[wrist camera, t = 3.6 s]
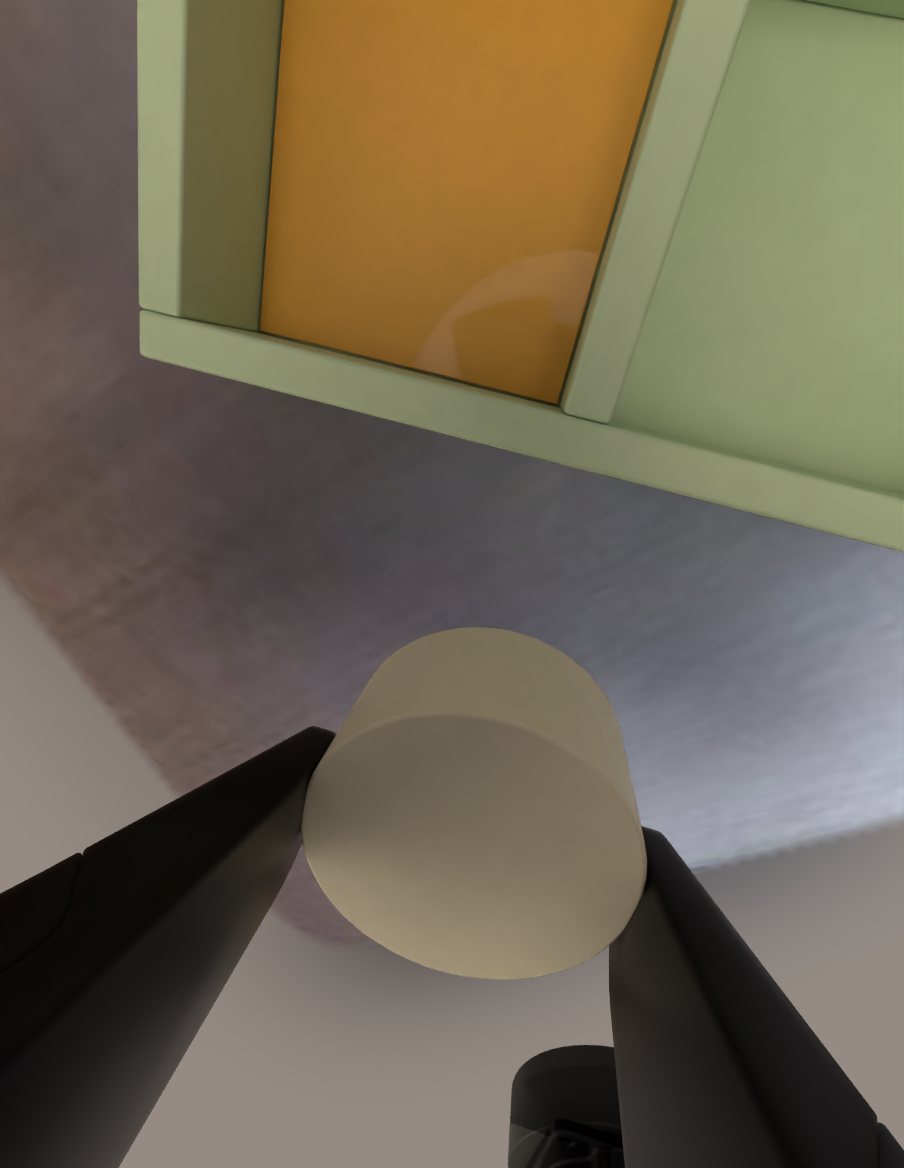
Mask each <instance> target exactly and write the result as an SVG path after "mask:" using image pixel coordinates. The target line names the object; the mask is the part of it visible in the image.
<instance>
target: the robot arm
mask: <svg viewBox="0 0 904 1168" xmlns="http://www.w3.org/2000/svg"><path fill="white" fill-rule="evenodd" d="M335 736H336V734H335V733H334V732H332V731H329V730H326V729H322V728H319V727H316V726H312V727H308V728H307V729H305V730H303V731H301V732H299V733H297V734H295V735H294V736H292V737H290V738H288V739H286V740H284V741H283V742H281V743H279V744H277V745H275V746H273V747H272V748H270V749H268V750H266V751H264V752H262V753H260V754H259V755H257V756H255V757H253V758H251V759H249V760H248V761H246V762H244V763H242V764H240V765H238V766H237V767H235V768H233V769H231V770H229V771H227V772H226V773H224V774H222V775H220V776H218V777H216V778H214V779H213V780H211V781H209V782H207V783H205V784H203V785H202V786H200V787H198V788H196V789H194V790H192V791H191V792H189V793H187V794H185V795H183V796H181V797H180V798H178V799H176V800H174V801H172V802H170V803H169V804H167V805H165V806H163V807H161V808H159V809H157V810H156V811H154V812H152V813H150V814H148V815H146V816H145V817H143V818H141V819H139V820H137V821H135V822H133V823H132V824H130V825H128V826H126V827H124V828H122V829H121V830H119V831H117V832H115V833H113V834H112V835H110V836H108V837H106V838H104V839H102V840H100V841H99V842H97V843H95V844H93V845H91V846H90V847H87V848H86V849H85V850H84V852H83V856H82V854H81V853H76V854H74V855H72V856H71V857H69V858H67V859H65V860H63V861H61V862H59V863H58V864H56V865H54V866H52V867H50V868H48V869H46V870H45V871H43V872H41V873H39V874H37V875H35V876H33V877H31V878H29V879H28V880H25V881H24V882H22V883H20V884H18V885H16V886H14V887H12V888H10V889H8V890H6V891H4V892H2V893H1V894H0V1168H119V1166H120V1164H121V1163H122V1161H123V1159H124V1158H125V1156H126V1154H127V1152H128V1151H129V1149H130V1147H131V1145H132V1144H133V1142H134V1140H135V1138H136V1137H137V1135H138V1133H139V1132H140V1130H141V1128H142V1126H143V1125H144V1123H145V1121H146V1120H147V1118H148V1116H149V1115H150V1113H151V1111H152V1109H153V1108H154V1106H155V1104H156V1103H157V1101H158V1099H159V1097H160V1096H161V1094H162V1092H163V1090H164V1089H165V1087H166V1085H167V1083H168V1082H169V1080H170V1078H171V1077H172V1075H173V1073H174V1071H175V1070H176V1068H177V1066H178V1065H179V1063H180V1061H181V1060H182V1058H183V1056H184V1054H185V1053H186V1051H187V1049H188V1047H189V1046H190V1044H191V1042H192V1041H193V1039H194V1037H195V1036H196V1034H197V1032H198V1030H199V1028H200V1027H201V1025H202V1023H203V1022H204V1020H205V1018H206V1017H207V1015H208V1013H209V1011H210V1010H211V1008H212V1006H213V1004H214V1003H215V1001H216V999H217V998H218V996H219V994H220V992H221V991H222V989H223V987H224V986H225V984H226V982H227V981H228V979H229V977H230V975H231V974H232V972H233V970H234V968H235V967H236V965H237V963H238V962H239V959H240V958H241V956H242V955H243V953H244V951H245V950H246V948H247V946H248V944H249V943H250V941H251V939H252V937H253V936H254V934H255V932H256V931H257V929H258V927H259V925H260V924H261V922H262V920H263V919H264V917H265V915H266V913H267V912H268V910H269V908H270V907H271V905H272V903H273V901H274V900H275V898H276V896H277V894H278V892H279V891H280V889H281V887H282V885H283V883H284V881H285V879H286V877H287V875H288V873H289V871H290V869H291V867H292V864H293V862H294V860H295V858H296V855H297V853H298V851H299V849H300V846H301V844H302V833H301V823H302V816H303V809H304V803H305V797H306V791H307V787H308V784H309V781H310V779H311V776H312V774H313V772H314V771H315V769H316V767H317V766H318V764H319V762H320V761H321V759H322V758H323V756H324V754H325V753H326V751H327V749H328V748H329V746H330V744H331V743H332V741H333V739H334V738H335ZM641 828H642V833H643V837H644V842H645V849H646V856H647V878H646V883H645V887H644V891H643V894H642V897H641V899H640V901H639V903H638V905H637V907H636V908H635V910H634V912H633V914H632V916H631V918H630V920H629V922H628V923H627V925H626V927H625V929H624V930H623V932H622V933H621V934H620V935H619V936H618V938H617V939H616V940H615V941H614V942H613V943H611V944H610V945H609V992H610V1007H611V1019H612V1031H613V1041H614V1052H615V1063H616V1074H617V1085H618V1096H619V1106H620V1117H621V1128H622V1138H619V1137H616V1136H613V1135H610V1134H607V1133H605V1132H602V1131H599V1130H596V1129H593V1128H590V1127H587V1126H585V1125H582V1124H579V1123H576V1122H573V1121H570V1120H566V1119H557V1120H554V1121H553V1122H552V1124H551V1126H550V1127H549V1129H548V1131H547V1132H546V1134H545V1136H544V1138H543V1139H542V1141H541V1143H540V1144H539V1146H538V1148H537V1150H536V1151H535V1153H534V1155H533V1156H532V1158H531V1160H530V1162H529V1163H528V1165H527V1167H526V1168H904V1150H903V1149H902V1147H901V1146H900V1145H899V1144H898V1142H897V1141H896V1140H895V1138H894V1137H893V1136H892V1134H891V1133H890V1132H889V1130H888V1129H887V1128H886V1126H885V1125H883V1124H882V1123H879V1122H878V1123H877V1116H876V1114H875V1112H874V1111H873V1110H872V1108H871V1107H870V1106H869V1104H868V1103H867V1102H866V1101H865V1099H864V1098H863V1096H862V1095H861V1094H860V1093H859V1091H858V1090H857V1089H856V1087H855V1086H854V1085H853V1083H852V1082H851V1081H850V1080H849V1078H848V1077H847V1075H846V1074H845V1073H844V1071H843V1070H842V1069H841V1068H840V1066H839V1065H838V1064H837V1062H836V1061H835V1060H834V1058H833V1057H832V1056H831V1055H830V1053H829V1052H828V1050H827V1049H826V1048H825V1047H824V1045H823V1044H822V1043H821V1041H820V1040H819V1039H818V1037H817V1036H816V1035H815V1033H814V1032H813V1031H812V1029H811V1028H810V1027H809V1026H808V1024H807V1023H806V1022H805V1020H804V1019H803V1018H802V1016H801V1015H800V1014H799V1013H798V1011H797V1010H796V1008H795V1007H794V1006H793V1005H792V1003H791V1002H790V1001H789V999H788V998H787V997H786V995H785V994H784V993H783V991H782V990H781V989H780V987H779V986H778V985H777V983H776V982H775V981H774V980H773V978H772V977H771V976H770V974H769V973H768V972H767V970H766V969H765V968H764V966H763V965H762V964H761V962H760V961H759V960H758V958H757V957H756V956H755V954H754V953H753V952H752V951H751V949H750V948H749V947H748V945H747V944H746V943H745V941H744V940H743V939H742V937H741V936H740V935H739V933H738V932H737V931H736V929H735V928H734V927H733V926H732V924H731V923H730V922H729V920H728V919H727V918H726V916H725V915H724V914H723V912H722V911H721V910H720V908H719V907H718V906H717V904H716V903H715V902H714V901H713V900H712V898H711V897H710V895H709V894H708V893H707V891H706V890H705V889H704V887H703V886H702V885H701V884H700V882H699V881H698V880H697V878H696V877H695V876H694V874H693V873H692V872H691V870H690V869H689V868H688V866H687V865H686V864H685V862H684V861H683V860H682V858H681V857H680V856H679V855H678V853H677V852H676V851H675V849H674V848H673V847H672V845H671V844H670V843H669V841H668V840H667V839H666V837H665V836H664V835H663V834H662V833H660V832H658V831H656V830H653V829H650V828H646V827H643V826H641Z"/></svg>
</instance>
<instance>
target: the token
mask: <svg viewBox="0 0 904 1168" xmlns="http://www.w3.org/2000/svg"><path fill="white" fill-rule="evenodd" d="M301 833H302V842H303V846H304V850H305V854H306V858H307V860H308V863H309V865H310V868H311V870H312V873H313V875H314V876H315V878H316V880H317V882H318V883H319V885H320V887H321V889H322V890H323V891H324V893H325V894H326V895H327V897H328V898H329V900H330V901H331V902H332V904H333V905H334V906H335V907H336V908H337V909H338V910H339V911H340V912H341V913H342V914H343V916H344V917H345V918H347V919H348V920H349V921H350V922H351V923H352V924H353V925H354V926H356V927H357V928H358V929H359V930H360V931H362V932H363V933H364V934H366V935H367V936H368V937H370V938H371V939H373V940H374V941H375V942H377V943H379V944H380V945H382V946H384V947H385V948H387V949H389V950H390V951H392V952H394V953H396V954H398V955H401V956H403V957H405V958H407V959H409V960H411V961H414V962H416V963H419V964H421V965H424V966H427V967H429V968H433V969H436V970H440V971H444V972H446V973H451V974H456V975H461V976H466V977H473V978H482V979H501V980H511V979H525V978H533V977H538V976H544V975H549V974H552V973H556V972H559V971H563V970H566V969H569V968H571V967H573V966H576V965H578V964H581V963H583V962H585V961H586V960H588V959H590V958H592V957H593V956H595V955H597V954H599V953H600V952H601V951H603V950H604V949H605V948H606V947H608V946H609V945H610V944H611V943H613V942H614V941H615V940H616V939H617V938H618V936H619V935H620V934H621V933H622V932H623V930H624V929H625V927H626V925H627V923H628V922H629V920H630V918H631V916H632V914H633V912H634V910H635V908H636V907H637V905H638V903H639V901H640V899H641V897H642V894H643V891H644V887H645V883H646V878H647V856H646V849H645V842H644V837H643V833H642V828H641V823H640V819H639V814H638V809H637V805H636V800H635V796H634V791H633V786H632V782H631V777H630V772H629V768H628V763H627V759H626V754H625V749H624V745H623V740H622V735H621V731H620V727H619V724H618V721H617V718H616V714H615V712H614V710H613V708H612V706H611V704H610V702H609V700H608V698H607V697H606V695H605V694H604V692H603V691H602V689H601V688H600V686H599V685H598V684H597V683H596V681H595V680H594V679H593V678H592V677H591V676H590V675H589V674H588V673H587V672H586V671H585V670H584V669H583V668H582V667H581V666H580V665H578V664H577V663H576V662H575V661H574V660H572V659H571V658H570V657H568V656H567V655H565V654H563V653H562V652H560V651H559V650H557V649H556V648H554V647H552V646H550V645H548V644H546V643H544V642H542V641H540V640H537V639H535V638H532V637H529V636H526V635H523V634H520V633H516V632H511V631H507V630H502V629H494V628H484V627H471V628H458V629H451V630H444V631H441V632H437V633H433V634H430V635H427V636H424V637H422V638H420V639H417V640H415V641H412V642H411V643H409V644H407V645H406V646H404V647H402V648H401V649H399V650H397V651H396V652H395V653H394V654H392V655H391V656H390V657H389V658H388V659H386V660H385V661H384V662H383V664H382V665H381V666H380V667H379V668H378V669H377V670H376V671H375V673H374V674H373V676H372V677H371V679H370V680H369V682H368V683H367V685H366V687H365V688H364V690H363V691H362V693H361V695H360V696H359V698H358V700H357V701H356V703H355V705H354V706H353V708H352V710H351V711H350V713H349V715H348V716H347V718H346V720H345V721H344V723H343V725H342V726H341V728H340V729H339V731H338V733H337V734H336V736H335V738H334V739H333V741H332V743H331V744H330V746H329V748H328V749H327V751H326V753H325V754H324V756H323V758H322V759H321V761H320V762H319V764H318V766H317V767H316V769H315V771H314V772H313V774H312V776H311V779H310V781H309V784H308V787H307V791H306V797H305V803H304V809H303V816H302V823H301Z"/></svg>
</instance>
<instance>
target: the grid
mask: <svg viewBox="0 0 904 1168" xmlns="http://www.w3.org/2000/svg"><path fill="white" fill-rule="evenodd" d="M137 52H138V221H139V305H140V306H141V307H142V308H143V309H146V310H142V311H141V312H140V353H141V354H142V355H143V356H145V357H146V358H150V359H154V360H158V361H162V362H166V363H170V364H174V365H177V366H181V367H185V368H189V369H193V370H197V371H201V372H205V373H209V374H212V375H216V376H220V377H224V378H228V379H232V380H236V381H240V382H244V383H247V384H251V385H255V386H259V387H263V388H267V389H271V390H275V391H279V392H283V393H286V394H290V395H294V396H298V397H302V398H306V399H310V400H314V401H318V402H321V403H325V404H329V405H333V406H337V407H341V408H345V409H349V410H353V411H356V412H360V413H364V414H368V415H372V416H376V417H380V418H384V419H388V420H391V421H395V422H399V423H403V424H407V425H411V426H415V427H419V428H423V429H426V430H430V431H434V432H438V433H442V434H446V435H450V436H454V437H458V438H462V439H465V440H469V441H473V442H477V443H481V444H485V445H489V446H493V447H497V448H500V449H504V450H508V451H512V452H516V453H520V454H524V455H528V456H532V457H535V458H539V459H543V460H547V461H551V462H555V463H559V464H563V465H567V466H570V467H574V468H578V469H582V470H586V471H590V472H594V473H598V474H602V475H605V476H609V477H613V478H617V479H621V480H625V481H629V482H633V483H637V484H641V485H644V486H648V487H652V488H656V489H660V490H664V491H668V492H672V493H676V494H679V495H683V496H687V497H691V498H695V499H699V500H703V501H707V502H711V503H714V504H718V505H722V506H726V507H730V508H734V509H738V510H742V511H746V512H749V513H753V514H757V515H761V516H765V517H769V518H773V519H777V520H781V521H784V522H788V523H792V524H796V525H800V526H804V527H808V528H812V529H816V530H820V531H823V532H827V533H831V534H835V535H839V536H843V537H847V538H851V539H855V540H858V541H862V542H866V543H870V544H874V545H878V546H882V547H886V548H890V549H893V550H897V551H901V552H904V0H137Z"/></svg>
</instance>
